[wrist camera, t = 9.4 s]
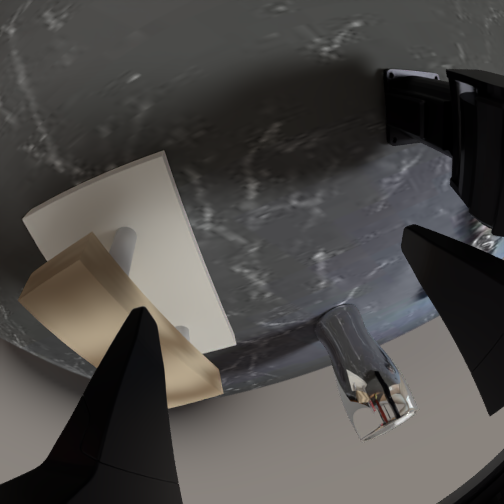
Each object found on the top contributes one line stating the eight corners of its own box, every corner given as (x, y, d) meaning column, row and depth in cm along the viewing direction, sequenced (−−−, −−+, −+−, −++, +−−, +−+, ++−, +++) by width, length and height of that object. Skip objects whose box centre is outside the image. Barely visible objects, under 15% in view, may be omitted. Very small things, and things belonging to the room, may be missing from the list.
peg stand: (164, 150, 16) (155, 178, 12) (234, 333, 29) (244, 377, 24) (30, 209, 16) (-3, 250, 11) (135, 357, 28) (134, 398, 24)
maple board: (218, 369, 23) (223, 393, 21) (163, 386, 23) (164, 409, 21) (92, 231, 13) (79, 259, 11) (31, 273, 13) (17, 300, 11)
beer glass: (300, 339, 32) (345, 449, 20) (328, 299, 29) (392, 420, 17) (342, 338, 35) (389, 432, 23) (371, 302, 31) (432, 401, 19)
